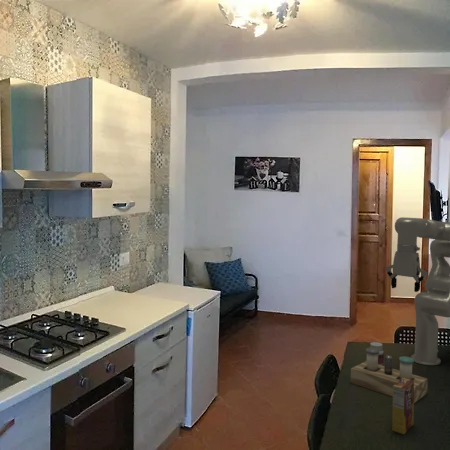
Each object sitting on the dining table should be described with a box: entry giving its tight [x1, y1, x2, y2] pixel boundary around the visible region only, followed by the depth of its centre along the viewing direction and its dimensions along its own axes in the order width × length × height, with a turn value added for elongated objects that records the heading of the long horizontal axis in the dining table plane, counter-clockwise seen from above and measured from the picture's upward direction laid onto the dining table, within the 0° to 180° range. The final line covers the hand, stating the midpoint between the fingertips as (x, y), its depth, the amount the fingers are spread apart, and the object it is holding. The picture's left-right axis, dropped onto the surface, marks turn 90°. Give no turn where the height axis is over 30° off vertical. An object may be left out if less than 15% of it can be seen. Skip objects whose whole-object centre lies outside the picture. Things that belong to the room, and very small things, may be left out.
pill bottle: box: [369, 341, 385, 366], centre depth 209 cm, size 6×6×11 cm
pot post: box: [384, 354, 394, 375], centre depth 189 cm, size 3×3×7 cm
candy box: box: [391, 378, 415, 435], centre depth 158 cm, size 9×4×15 cm, turn 140°
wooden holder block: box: [350, 360, 428, 404], centre depth 190 cm, size 12×26×6 cm, turn 45°
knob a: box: [365, 347, 379, 371], centre depth 194 cm, size 5×5×8 cm
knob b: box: [398, 355, 415, 380], centre depth 184 cm, size 5×5×8 cm
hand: (405, 289), depth 200 cm, fingers open, 9 cm apart
